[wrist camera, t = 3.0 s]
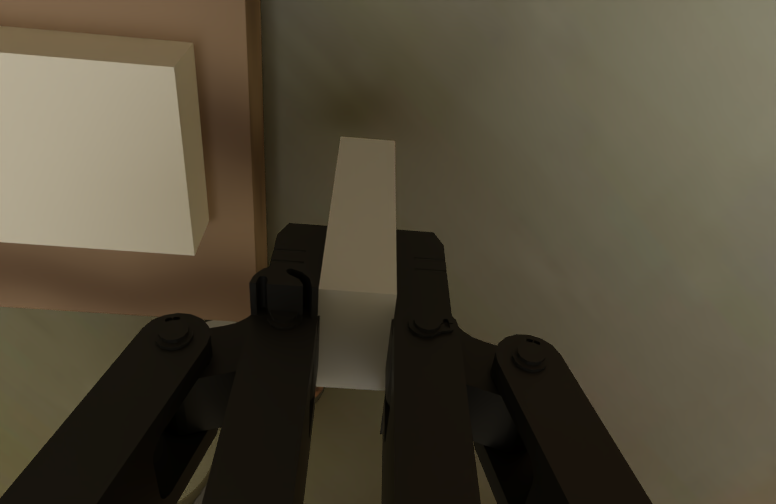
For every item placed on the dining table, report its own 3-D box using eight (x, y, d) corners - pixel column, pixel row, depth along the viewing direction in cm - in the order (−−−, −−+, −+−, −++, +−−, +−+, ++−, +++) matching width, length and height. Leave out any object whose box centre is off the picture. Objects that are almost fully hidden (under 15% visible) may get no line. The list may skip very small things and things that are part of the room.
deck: (268, 282, 26) (258, 322, 24) (-34, 261, 26) (-70, 301, 24) (256, -146, 17) (239, -138, 15) (-201, -193, 17) (-282, -191, 15)
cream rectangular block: (209, 220, 21) (194, 255, 20) (-67, 200, 21) (-106, 234, 19) (193, 42, 18) (174, 67, 16) (-139, 13, 18) (-192, 36, 16)
